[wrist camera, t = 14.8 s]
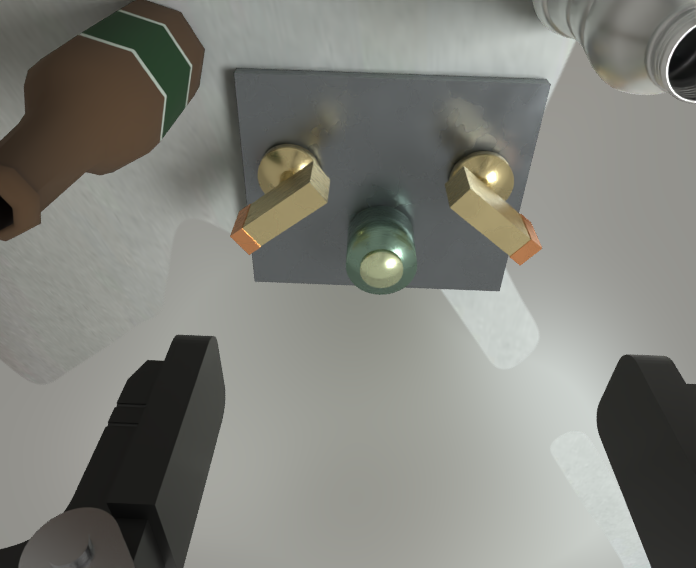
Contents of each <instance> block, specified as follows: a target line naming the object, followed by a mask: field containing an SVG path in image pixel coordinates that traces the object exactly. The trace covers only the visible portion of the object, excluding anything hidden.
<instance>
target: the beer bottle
mask: <svg viewBox="0 0 696 568" xmlns="http://www.w3.org/2000/svg"><path fill="white" fill-rule="evenodd" d="M204 51H205V49H204V47H203V46H202V44H201V43H200V41H199V40H198V38H197V36H196V35H195V33H194V32H193V30H192V29H191V27H190V25H189V24H188V22H187V21H186V19H185V18H184V16H183V14H182V13H181V12H179V11H176V10H173V9H170V8H167V7H164V6H161V5H158V4H155V3H152V2H149V1H147V0H136V1H133V2H131V3H130V4H128V5H126V6H125V7H123V8H121V9H120V10H118V11H116V12H115V13H113V14H112V15H110V16H108V17H107V18H105V19H103V20H102V21H100V22H99V23H97V24H95V25H94V26H92V27H90V28H89V29H87V30H85V31H84V32H82V33H81V34H79V35H77V36H76V37H74V38H73V39H71V40H70V41H68V42H67V43H65V44H64V45H62V46H61V47H59V48H57V49H56V50H54V51H53V52H51V53H50V54H48V55H47V56H45V57H44V58H42V59H41V60H40V61H38V62H37V63H36V64H35V65H34V66H33V67H31V68H30V69H29V70H28V73H27V76H26V80H25V84H24V98H25V115H24V116H23V118H22V119H21V121H20V122H19V124H18V125H17V126H16V127H14V128H13V129H12V130H11V131H10V132H9V133H8V134H7V135H6V136H5V137H4V138H3V139H2V140H1V141H0V240H3V241H7V240H10V239H12V238H14V237H16V236H18V235H20V234H22V233H24V232H25V231H27V230H29V229H31V228H33V227H35V226H37V225H39V224H41V212H42V211H43V210H44V209H45V208H46V207H47V206H48V205H49V204H50V203H52V202H53V201H54V200H55V199H56V198H57V197H58V196H59V195H61V194H62V193H63V192H64V191H65V190H66V189H67V188H68V187H70V186H71V185H72V184H73V183H74V182H75V181H76V180H77V179H79V178H80V177H81V176H82V175H83V174H84V173H85V172H88V173H92V174H97V175H104V174H107V173H111V172H114V171H116V170H118V169H120V168H122V167H123V166H125V165H127V164H129V163H131V162H133V161H135V160H136V159H138V158H140V157H142V156H144V155H146V154H148V153H149V152H150V151H151V150H152V149H153V148H154V147H155V146H156V145H157V144H158V143H159V142H160V141H161V140H162V138H163V137H164V136H165V134H166V133H167V132H168V130H169V129H170V128H171V126H172V125H173V124H174V122H175V121H176V120H177V118H178V117H179V115H180V114H181V113H182V111H183V110H184V109H185V107H186V106H187V105H188V103H189V102H190V101H191V99H192V98H193V96H194V95H195V93H196V91H197V90H198V88H199V85H200V78H201V72H202V65H203V58H204Z"/></svg>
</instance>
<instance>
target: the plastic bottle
mask: <svg viewBox="0 0 696 568" xmlns="http://www.w3.org/2000/svg"><path fill="white" fill-rule="evenodd" d="M532 2H533V6H534V9H535V12H536V14H537V16H538V18H539V20H540V21H541V22H542V23H543V24H544V26H545V27H547V28H548V29H549V30H551V31H552V32H554V33H557V34H559V35H562V36H564V37H567V38H572V39H575V40H577V41H578V42H579V43H580V44H581V46H582V47H583V49H584V51H585V53H586V55H587V58H588V60H589V61H590V63H591V66H592V67H593V69H594V70H595V71H596V73H597V74H598V75H599V76H600V78H601V79H602V80H603V81H604V82H605V83H607V84H608V85H610V86H611V87H612V88H615V89H617V90H619V91H622V92H626V93H631V94H638V95H656V94H661V93H669V94H671V95H672V96H673V97H675V98H676V99H679V100H681V101H684V102H686V103H692V104H696V0H532Z"/></svg>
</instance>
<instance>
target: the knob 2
mask: <svg viewBox="0 0 696 568" xmlns="http://www.w3.org/2000/svg"><path fill="white" fill-rule="evenodd" d="M513 187H514V176H513V172H512V170H511V168H510V166H509V164H508V162H507V161H506V160H505V159H504V158H503V157H502V156H500V155H499V154H497V153H494V152H490V151H479V152H474V153H471V154H469V155H467V156H465V157H464V158H462V159H461V160H460V161H459V162H458V163H457V164H456V165H455V166H454V168H453V169H452V171H451V174H450V177H449V180H448V181H447V182H446V183H445V188H446V193H447V197H448V202H449V206H450V208H451V209H452V210H453V211H454V212H456V213H457V214H458V215H459V216H461V217H462V218H463V219H464V220H466V221H467V222H468V223H469V224H471V225H472V226H473V227H474V228H476V229H477V230H478V231H479V232H481V233H482V234H483V235H484V236H485V237H487V238H488V239H489V240H490V241H492V242H493V243H494V244H495V245H497V246H498V247H499V248H500V249H502V250H503V251H504V252H505V253H507V254H508V255H509V256H510V258H512V259H513V260H514V261H515V262H516V263H518V264H519V265H521V264H523V263H524V262H525V261H527V260H528V259H529V258H530V257H532V256H533V255H534V254H536V253H537V252H538V251H539V250H541V249H542V246H541V245H540V242H539V240H538V237H537V235H536V233H535V230H534V228H533V226H532V224H531V222H530V221H529V220H528V219H526V218H525V217H524V216H523V215H522V214H519V213H518V212H517V211H516V210H515V209H514V208H512V207H511V206H510V205H509V204H508V203H507V202H505V201H506V200H507V199H508V198H509V196H510V194H511V192H512V190H513Z"/></svg>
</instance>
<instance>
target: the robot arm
mask: <svg viewBox="0 0 696 568" xmlns="http://www.w3.org/2000/svg"><path fill="white" fill-rule="evenodd" d="M224 406H225V385H224V379H223V373H222V367H221V361H220V355H219V349H218V343H217V339H216V337H214V336H194V335H176V336H175V338H174V339H173V341H172V343H171V345H170V348H169V351H168V353H167V355H166V358H165V360H164V361H155V360H147V361H146V362H145V363H144V364H143V365H142V366H141V367H140V368H139V369H138V370H137V371H136V372H135V373H134V374H133V375H132V376H131V377H130V378H129V379H128V380H127V382H126V384H125V386H124V388H123V391H122V393H121V395H120V397H119V399H118V401H117V407H115V408H114V410H113V412H112V414H111V416H110V419H109V421H108V426H107V427H105V429H104V431H103V434H102V436H101V438H100V440H99V442H98V444H97V447H96V449H95V451H94V453H93V455H92V457H91V460H90V462H89V464H88V466H87V468H86V470H85V472H84V475H83V477H82V479H81V481H80V483H79V485H78V487H77V490H76V492H75V494H74V496H73V498H72V500H71V502H70V504H69V505H68V507H67V508H66V510H65V511H64V513H62V514H59V515H58V516H56V517H54V518H52V519H51V520H49V521H48V522H47V523H46V524H44V525H43V526H42V527H41V528H40V529H39V530H38V531H36V533H35V534H34V535H33V537H31V539H29V540H27V541H25V542H23V543H20V544H17V545H14V546H11V547H8V548H4V549H0V568H183V567H184V563H185V559H186V555H187V552H188V548H189V544H190V540H191V536H192V533H193V529H194V525H195V521H196V518H197V514H198V510H199V506H200V502H201V499H202V495H203V491H204V487H205V483H206V480H207V476H208V472H209V468H210V464H211V461H212V457H213V453H214V449H215V445H216V442H217V437H218V434H219V430H220V427H221V423H222V419H223V413H224V408H225V407H224ZM597 428H598V432H599V435H600V438H601V441H602V443H603V446H604V448H605V451H606V453H607V456H608V459H609V461H610V464H611V466H612V469H613V471H614V474H615V476H616V479H617V481H618V484H619V486H620V489H621V492H622V494H623V497H624V499H625V502H626V504H627V507H628V509H629V512H630V514H631V517H632V519H633V522H634V524H635V527H636V530H637V532H638V535H639V537H640V540H641V542H642V545H643V547H644V550H645V552H646V555H647V557H648V560H649V562H650V565H651V568H696V384H686V383H685V381H684V380H683V378H682V376H681V374H680V373H679V371H678V369H677V368H676V366H675V364H674V363H673V361H672V360H671V359H670V358H668V357H666V356H651V355H624V356H622V357H621V358H620V360H619V362H618V364H617V366H616V368H615V370H614V372H613V374H612V377H611V379H610V381H609V383H608V385H607V388H606V390H605V392H604V394H603V396H602V398H601V400H600V403H599V405H598V409H597Z"/></svg>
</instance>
